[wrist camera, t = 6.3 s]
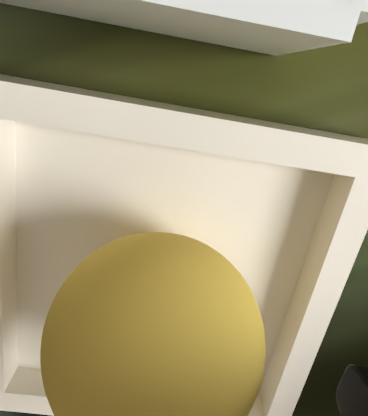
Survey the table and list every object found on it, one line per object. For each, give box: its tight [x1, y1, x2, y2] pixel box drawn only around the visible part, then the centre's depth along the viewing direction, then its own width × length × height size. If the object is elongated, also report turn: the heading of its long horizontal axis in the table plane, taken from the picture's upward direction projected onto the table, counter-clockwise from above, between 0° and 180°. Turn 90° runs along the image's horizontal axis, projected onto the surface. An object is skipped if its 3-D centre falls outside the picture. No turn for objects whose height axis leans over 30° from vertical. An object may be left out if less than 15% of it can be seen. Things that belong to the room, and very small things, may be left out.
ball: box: [40, 232, 266, 416], centre depth 8 cm, size 5×5×5 cm
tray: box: [0, 74, 368, 416], centre depth 10 cm, size 10×10×2 cm
